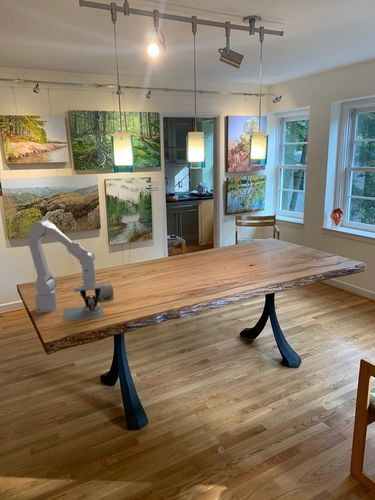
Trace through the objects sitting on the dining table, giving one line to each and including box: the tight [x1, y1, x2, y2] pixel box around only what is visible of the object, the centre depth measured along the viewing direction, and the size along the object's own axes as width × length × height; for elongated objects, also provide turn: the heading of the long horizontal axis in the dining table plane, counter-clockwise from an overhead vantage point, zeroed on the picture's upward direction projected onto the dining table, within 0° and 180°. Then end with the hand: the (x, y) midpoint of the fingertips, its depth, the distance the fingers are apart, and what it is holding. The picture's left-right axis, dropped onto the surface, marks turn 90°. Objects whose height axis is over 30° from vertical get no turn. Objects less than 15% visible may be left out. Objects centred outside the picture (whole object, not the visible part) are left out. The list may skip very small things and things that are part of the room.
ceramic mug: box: [97, 282, 115, 302], centre depth 195 cm, size 11×8×8 cm
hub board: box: [62, 302, 104, 323], centre depth 178 cm, size 18×16×2 cm
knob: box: [86, 294, 96, 310], centre depth 182 cm, size 5×4×6 cm
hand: (91, 304), depth 182 cm, fingers closed on knob, 4 cm apart
